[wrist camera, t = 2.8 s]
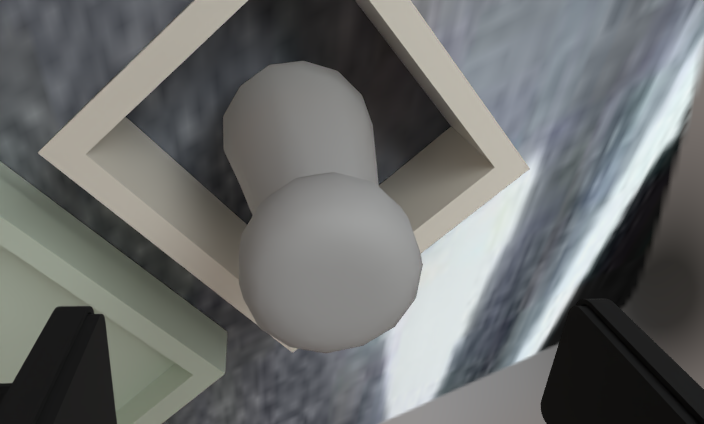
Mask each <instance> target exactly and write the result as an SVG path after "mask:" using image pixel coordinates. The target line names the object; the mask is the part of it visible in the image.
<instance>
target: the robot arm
mask: <svg viewBox="0 0 704 424" xmlns="http://www.w3.org/2000/svg"><path fill="white" fill-rule="evenodd" d="M541 412H542V415H543V418H544V420H545V422H546V423H547V424H704V389H703V388H701V386H699V385H698V384H697V383H696V382H695V381H694V380H693V379H692V378H691V377H690V376H689V375H688V374H687V373H686V372H685V371H684V370H683V369H682V368H681V367H680V366H679V365H678V364H677V363H676V362H675V361H674V360H673V359H672V358H671V357H669V356H668V355H667V354H666V353H665V352H664V351H663V350H662V349H661V348H660V347H659V346H658V345H657V344H656V343H655V342H654V341H653V340H652V339H651V338H650V337H649V336H648V335H647V334H646V333H645V332H644V331H642V330H641V329H640V328H639V327H638V326H637V325H636V324H635V323H634V322H633V321H632V320H631V319H630V318H629V317H628V316H627V315H626V314H625V313H624V312H623V311H622V310H621V309H620V308H619V307H618V306H617V305H616V304H615V303H614V302H612V301H611V300H609V299H582V300H579V301H578V302H577V304H576V306H573V307H572V308H571V309H570V311H569V313H568V316H567V319H566V323H565V326H564V329H563V332H562V335H561V339H560V342H559V345H558V348H557V352H556V355H555V359H554V362H553V365H552V368H551V371H550V374H549V377H548V381H547V384H546V387H545V390H544V394H543V397H542V400H541ZM0 424H117V418H116V410H115V401H114V392H113V383H112V375H111V366H110V357H109V349H108V340H107V331H106V322H105V317H104V315H103V314H94V310H93V308H92V307H91V306H58V307H56V308H55V309H54V311H53V312H52V314H51V316H50V318H49V319H48V321H47V323H46V325H45V326H44V328H43V330H42V332H41V333H40V335H39V337H38V339H37V340H36V342H35V344H34V346H33V348H32V349H31V351H30V353H29V355H28V356H27V358H26V360H25V362H24V363H23V365H22V367H21V369H20V370H19V372H18V374H17V376H16V377H15V379H14V381H13V383H0Z"/></svg>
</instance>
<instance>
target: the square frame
mask: <svg viewBox="0 0 704 424" xmlns="http://www.w3.org/2000/svg"><path fill="white" fill-rule="evenodd" d="M247 1H248V0H193V1H192V2H191V3H190V4H189V5H188V6H187V7H186V8H185V9H184V10H183V11H182V12H181V13H180V14H179V15H178V16H177V17H176V18H174V19H173V20H172V21H171V22H170V23H169V24H168V25H167V26H166V27H165V28H164V29H163V30H162V31H161V32H160V33H159V34H158V35H157V36H156V37H155V38H154V39H153V40H152V41H151V42H150V43H149V44H148V45H147V46H146V47H145V48H144V49H143V50H141V51H140V52H139V53H138V54H137V55H136V56H135V57H134V58H133V59H132V60H131V61H130V62H129V63H128V64H127V65H126V66H125V67H124V68H123V69H122V70H121V71H120V72H119V73H118V74H117V75H116V76H115V77H114V78H113V79H112V80H111V81H110V82H109V83H107V84H106V85H105V86H104V87H103V88H102V89H101V90H100V91H99V92H98V93H97V94H96V95H95V96H94V97H93V98H92V99H91V100H90V101H89V102H88V103H87V104H86V105H85V106H84V107H83V108H82V109H81V110H80V111H79V112H78V113H77V114H76V115H75V116H74V117H73V118H72V119H71V120H70V121H69V122H68V123H67V124H66V125H65V126H64V127H63V128H62V129H61V130H60V131H59V132H58V133H57V134H56V135H55V136H54V137H53V138H52V139H51V140H50V141H49V142H48V143H47V144H46V145H45V146H44V147H43V148H42V149H41V150H40V151H39V152H38V154H40V155H41V156H42V157H43V158H45V159H46V160H47V161H49V162H50V163H51V164H52V165H54V166H55V167H56V168H58V169H59V170H60V171H61V172H63V173H64V174H65V175H66V176H68V177H69V178H70V179H72V180H73V181H74V182H75V183H77V184H78V185H79V186H80V187H82V188H83V189H84V190H86V191H87V192H88V193H89V194H91V195H92V196H93V197H94V198H96V199H97V200H98V201H100V202H101V203H102V204H103V205H105V206H106V207H107V208H109V209H110V210H111V211H112V212H114V213H115V214H116V215H117V216H119V217H120V218H121V219H123V220H124V221H125V222H126V223H128V224H129V225H130V226H131V227H133V228H134V229H135V230H137V231H138V232H139V233H140V234H142V235H143V236H144V237H146V238H147V239H148V240H149V241H151V242H152V243H153V244H154V245H156V246H157V247H158V248H160V249H161V250H162V251H163V252H165V253H166V254H167V255H168V256H170V257H171V258H172V259H174V260H175V261H176V262H177V263H179V264H180V265H181V266H183V267H184V268H185V269H186V270H188V271H189V272H190V273H191V274H193V275H194V276H195V277H197V278H198V279H199V280H200V281H202V282H203V283H204V284H205V285H207V286H208V287H209V288H211V289H212V290H213V291H214V292H216V293H217V294H218V295H219V296H221V297H222V298H223V299H225V300H226V301H227V302H228V303H230V304H231V305H232V306H234V307H235V308H236V309H237V310H239V311H240V312H241V313H242V314H244V315H245V316H246V317H248V318H249V319H250V320H251V321H253V322H254V323H255V324H256V325H257V323H256V321H255V319H254V317H253V315H252V314H251V312H250V310H249V308H248V306H247V305H246V303H245V301H244V299H243V296H242V292H241V289H240V285H239V246H240V241H241V235H242V233H243V231H244V229H245V228H246V226H247V224H246V223H245V222H243V221H242V220H241V219H240V218H239V217H238V216H237V215H236V214H234V213H233V212H232V211H231V210H230V209H229V208H228V207H227V206H225V205H224V204H223V203H222V202H221V201H220V200H219V199H218V198H217V197H215V196H214V195H213V194H212V193H211V192H210V191H209V190H208V189H206V188H205V187H204V186H203V185H202V184H201V183H200V182H199V181H197V180H196V179H195V178H194V177H193V176H192V175H191V174H190V173H188V172H187V171H186V170H185V169H184V168H183V167H182V166H181V165H179V164H178V163H177V162H176V161H175V160H174V159H173V158H172V157H170V156H169V155H168V154H167V153H166V152H165V151H164V150H163V149H161V148H160V147H159V146H158V145H157V144H156V143H155V142H154V141H152V140H151V139H150V138H149V137H148V136H147V135H146V134H145V133H143V132H142V131H141V130H140V129H139V128H138V127H137V126H136V125H134V124H133V123H132V122H131V121H130V120H129V119H128V118H127V117H125V116H127V115H128V114H129V113H130V112H131V111H132V110H133V109H134V108H135V107H136V106H137V105H138V104H139V103H140V102H141V101H142V100H143V99H145V98H146V97H147V96H148V95H149V94H150V93H151V92H152V91H153V90H154V89H155V88H156V87H157V86H158V85H159V84H160V83H161V82H162V81H164V80H165V79H166V78H167V77H168V76H169V75H170V74H171V73H172V72H173V71H174V70H175V69H176V68H177V67H178V66H179V65H180V64H181V63H183V62H184V61H185V60H186V59H187V58H188V57H189V56H190V55H191V54H192V53H193V52H194V51H195V50H196V49H197V48H198V47H199V46H200V45H202V44H203V43H204V42H205V41H206V40H207V39H208V38H209V37H210V36H211V35H212V34H213V33H214V32H215V31H216V30H217V29H218V28H219V27H221V26H222V25H223V24H224V23H225V22H226V21H227V20H228V19H229V18H230V17H231V16H232V15H233V14H234V13H235V12H236V11H237V10H239V9H240V8H241V7H242V6H243V5H244V4H245V3H246V2H247ZM355 1H356V2H357V4H358V5H359V6H360V8H361V9H362V10H363V12H364V13H365V14H366V15H367V17H368V18H369V19H370V21H371V22H372V23H373V25H374V26H375V27H376V29H377V30H378V31H379V32H380V34H381V35H382V36H383V38H384V39H385V40H386V42H387V43H388V44H389V46H390V47H391V48H392V49H393V51H394V52H395V53H396V55H397V56H398V57H399V59H400V60H401V61H402V63H403V64H404V65H405V66H406V68H407V69H408V70H409V72H410V73H411V74H412V76H413V77H414V78H415V80H416V81H417V82H418V84H419V85H420V86H421V87H422V89H423V90H424V91H425V93H426V94H427V95H428V97H429V98H430V99H431V101H432V102H433V103H434V104H435V106H436V107H437V108H438V110H439V111H440V112H441V114H442V115H443V116H444V118H445V119H446V120H447V121H448V123H449V124H450V125H451V127H450V128H449V129H447V130H446V131H445V132H444V133H442V134H441V135H440V136H439V137H438V138H436V139H435V140H434V141H433V142H431V143H430V144H429V145H428V146H427V147H425V148H424V149H423V150H422V151H420V152H419V153H418V154H417V155H416V156H414V157H413V158H412V159H411V160H409V161H408V162H407V163H406V164H405V165H403V166H402V167H401V168H400V169H398V170H397V171H396V172H395V173H394V174H392V175H391V176H390V177H389V178H387V179H386V180H385V181H384V182H383V183H381V184H380V185H379V187H380V188H381V189H382V190H383V191H384V192H385V193H386V194H387V195H388V196H389V197H391V198H392V199H393V200H394V201H395V202H396V203H397V204H398V205H399V206H400V207H401V208H402V209H403V211H404V212H405V214H406V215H407V217H408V219H409V221H410V224H411V227H412V230H413V233H414V235H415V238H416V241H417V244H418V247H419V249H420V254H421V253H422V252H423V251H424V250H426V249H427V248H428V247H430V246H431V245H432V244H433V243H435V242H436V241H437V240H439V239H440V238H441V237H443V236H444V235H445V234H446V233H448V232H449V231H450V230H452V229H453V228H454V227H455V226H457V225H458V224H459V223H461V222H462V221H463V220H464V219H466V218H467V217H468V216H470V215H471V214H472V213H473V212H475V211H476V210H477V209H479V208H480V207H481V206H482V205H484V204H485V203H486V202H488V201H489V200H490V199H491V198H493V197H494V196H495V195H497V194H498V193H499V192H500V191H502V190H503V189H504V188H506V187H507V186H508V185H510V184H511V183H512V182H513V181H515V180H516V179H517V178H519V177H520V176H521V175H522V174H524V173H525V172H526V171H528V170H529V169H530V168H529V167H528V165H527V164H526V163H525V161H524V160H523V158H522V157H521V156H520V154H519V153H518V151H517V150H516V148H515V147H514V146H513V144H512V143H511V141H510V140H509V139H508V137H507V136H506V134H505V133H504V132H503V130H502V129H501V127H500V126H499V125H498V123H497V122H496V120H495V119H494V117H493V116H492V115H491V113H490V112H489V110H488V109H487V108H486V106H485V105H484V103H483V102H482V101H481V99H480V98H479V96H478V95H477V93H476V92H475V91H474V89H473V88H472V86H471V85H470V84H469V82H468V81H467V79H466V78H465V77H464V75H463V74H462V72H461V71H460V69H459V68H458V67H457V65H456V64H455V62H454V61H453V60H452V58H451V57H450V55H449V54H448V53H447V51H446V50H445V48H444V47H443V45H442V44H441V43H440V41H439V40H438V38H437V37H436V36H435V34H434V33H433V31H432V30H431V29H430V27H429V26H428V24H427V23H426V22H425V20H424V19H423V17H422V16H421V14H420V13H419V12H418V10H417V9H416V7H415V6H414V5H413V3H412V2H411V0H355ZM272 337H273V336H272ZM273 338H274V337H273ZM274 339H276V338H274ZM276 340H277V339H276ZM277 341H278V342H279V343H281V344H282V345H283V346H285V347H286V348H287V349H288V350H290V351H291V352H292V353H293V352H294V351H296V350H297V349H298V348H292V347H289V346H287V345H286V344H284V343H282V342H281V341H279V340H277Z"/></svg>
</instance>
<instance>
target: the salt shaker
mask: <svg viewBox="0 0 704 424" xmlns="http://www.w3.org/2000/svg"><path fill="white" fill-rule="evenodd" d="M223 148H224V152H225V154H226V156H227V158H228V160H229V162H230V165H231V167H232V169H233V171H234V173H235V175H236V177H237V179H238V182H239V184H240V186H241V189H242V191H243V194H244V196H245V198H246V201H247V203H248V206H249V208H250V211H251V213H252V218H251V220H250V221H249V223H248V225H247V226H246V228H245V229H244V231H243V233H242V235H241V241H240V246H239V285H240V289H241V292H242V296H243V299H244V301H245V303H246V305H247V306H248V308H249V310H250V312H251V314H252V315H253V317H254V319H255V321H256V323H257V325H258V326H259V328H260V329H261V330H263V331H264V332H266V333H268V334H269V335H271V336H273V337H274V338H276V339H277V340H279V341H281V342H282V343H284V344H286V345H287V346H289V347H292V348H298V349H304V350H310V351H316V352H322V353H330V352H334V351H339V350H344V349H349V348H353V347H358V346H363V345H365V344H366V343H368V342H370V341H371V340H373V339H375V338H376V337H378V336H380V335H381V334H383V333H385V332H386V331H388V330H390V329H392V328H393V327H395V326H396V324H397V323H398V322H399V320H400V319H401V317H402V316H403V315H404V313H405V312H406V311H407V309H408V308H409V307H410V305H411V304H412V303H413V301H414V300H415V298H416V294H417V290H418V285H419V280H420V275H421V270H422V266H423V264H422V259H421V254H420V249H419V247H418V244H417V241H416V238H415V235H414V233H413V230H412V227H411V224H410V221H409V219H408V217H407V215H406V214H405V212H404V211H403V209H402V208H401V207H400V206H399V205H398V204H397V203H396V202H395V201H394V200H393V199H392V198H391V197H389V196H388V195H387V194H386V193H385V192H384V191H383V190H382V189H381V188H380V187H379V183H378V173H377V163H376V153H375V143H374V133H373V125H372V122H371V119H370V116H369V113H368V110H367V108H366V105H365V102H364V99H363V96H362V95H361V94H360V93H359V92H358V91H357V90H356V89H355V88H354V87H353V86H352V85H351V84H350V83H349V82H348V81H347V80H346V79H345V78H344V77H343V76H342V75H341V74H340V73H339V72H338V71H336V70H333V69H330V68H327V67H323V66H320V65H316V64H313V63H310V62H306V61H296V62H288V63H280V64H272V65H268V66H267V67H266V68H264V69H263V70H262V71H260V72H259V73H257V74H256V75H255V76H253V77H252V78H251V79H249V80H248V81H247V82H245V83H244V84H242V85H241V86H240V87H239V89H238V91H237V93H236V94H235V96H234V98H233V100H232V101H231V103H230V105H229V107H228V109H227V110H226V112H225V114H224V116H223Z"/></svg>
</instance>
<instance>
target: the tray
mask: <svg viewBox="0 0 704 424" xmlns="http://www.w3.org/2000/svg"><path fill="white" fill-rule="evenodd" d="M58 306H91V307H92V308H93V310H94V314H103V315H104V317H105V322H106V331H107V340H108V349H109V357H110V366H111V375H112V383H113V392H114V401H115V410H116V418H117V424H162V423H163V422H165V421H166V420H167V419H168V418H170V417H171V416H172V415H173V414H175V413H176V412H177V411H179V410H180V409H181V408H182V407H184V406H185V405H186V404H187V403H189V402H190V401H191V400H192V399H194V398H195V397H196V396H197V395H199V394H200V393H201V392H203V391H204V390H205V389H206V388H208V387H209V386H210V385H211V384H213V383H214V382H215V381H216V380H218V379H219V378H220V377H222V376H223V375H224V374H225V367H226V351H227V335H228V332H227V331H226V330H224V329H223V328H222V327H220V326H219V325H218V324H216V323H215V322H214V321H212V320H211V319H210V318H208V317H207V316H206V315H204V314H203V313H202V312H200V311H199V310H198V309H196V308H195V307H194V306H192V305H191V304H190V303H188V302H187V301H186V300H184V299H183V298H182V297H180V296H179V295H178V294H176V293H175V292H174V291H172V290H171V289H170V288H168V287H167V286H166V285H164V284H163V283H162V282H160V281H159V280H158V279H156V278H155V277H154V276H152V275H151V274H150V273H148V272H147V271H146V270H144V269H143V268H142V267H140V266H139V265H138V264H136V263H135V262H134V261H132V260H131V259H130V258H128V257H127V256H126V255H124V254H123V253H122V252H120V251H119V250H118V249H116V248H115V247H114V246H112V245H111V244H110V243H108V242H107V241H106V240H104V239H103V238H102V237H100V236H99V235H98V234H96V233H95V232H94V231H92V230H91V229H90V228H88V227H87V226H86V225H84V224H83V223H82V222H80V221H79V220H78V219H76V218H75V217H74V216H73V215H71V214H70V213H69V212H67V211H66V210H65V209H63V208H62V207H61V206H59V205H58V204H57V203H55V202H54V201H53V200H51V199H50V198H49V197H47V196H46V195H45V194H43V193H42V192H41V191H39V190H38V189H37V188H35V187H34V186H33V185H31V184H30V183H29V182H27V181H26V180H25V179H23V178H22V177H21V176H19V175H18V174H17V173H15V172H14V171H13V170H11V169H10V168H9V167H7V166H6V165H5V164H3V163H2V162H1V161H0V383H13V381H14V379H15V377H16V376H17V374H18V372H19V370H20V369H21V367H22V365H23V363H24V362H25V360H26V358H27V356H28V355H29V353H30V351H31V349H32V348H33V346H34V344H35V342H36V340H37V339H38V337H39V335H40V333H41V332H42V330H43V328H44V326H45V325H46V323H47V321H48V319H49V318H50V316H51V314H52V312H53V311H54V309H55V308H56V307H58Z"/></svg>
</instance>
